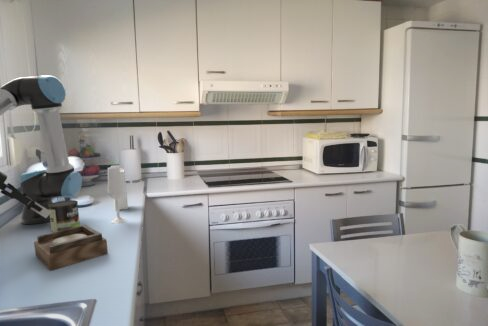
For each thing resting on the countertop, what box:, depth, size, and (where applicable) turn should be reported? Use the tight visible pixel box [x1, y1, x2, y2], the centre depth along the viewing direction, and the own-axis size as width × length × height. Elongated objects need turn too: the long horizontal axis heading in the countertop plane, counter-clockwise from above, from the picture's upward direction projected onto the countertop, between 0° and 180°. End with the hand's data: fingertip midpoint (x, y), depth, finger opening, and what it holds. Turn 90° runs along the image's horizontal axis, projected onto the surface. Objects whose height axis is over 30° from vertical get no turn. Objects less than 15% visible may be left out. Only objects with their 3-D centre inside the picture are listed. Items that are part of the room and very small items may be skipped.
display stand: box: [33, 224, 109, 271], centre depth 126 cm, size 18×18×7 cm
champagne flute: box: [107, 166, 127, 224], centre depth 163 cm, size 7×7×24 cm
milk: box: [110, 164, 129, 211], centre depth 185 cm, size 6×6×22 cm
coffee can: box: [48, 199, 81, 233], centre depth 143 cm, size 10×10×14 cm
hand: (43, 211), depth 137 cm, fingers open, 13 cm apart
